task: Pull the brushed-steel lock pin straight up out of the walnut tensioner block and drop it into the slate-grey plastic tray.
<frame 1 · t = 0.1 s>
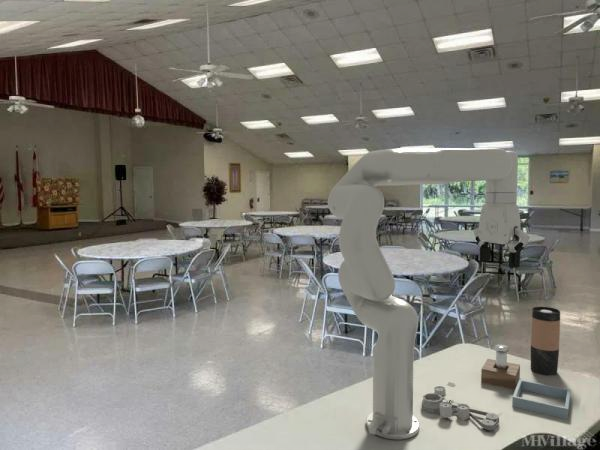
hand: (498, 264, 121), 37 cm above the table, tool pointing down, fingers open, 9 cm apart
pin tray: (541, 405, 121), on the table
pulley system: (449, 409, 122), on the table
tensioner block: (500, 383, 135), on the table
travel mug: (543, 374, 141), on the table
lock pin: (500, 379, 135), point 1 cm above the table, touching tensioner block
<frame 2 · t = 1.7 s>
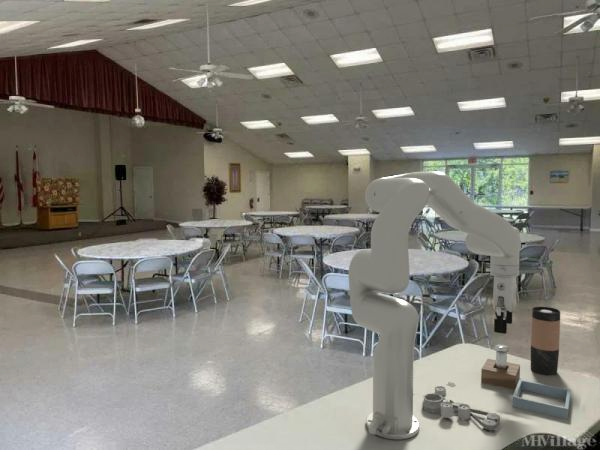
hand: (503, 327, 134), 17 cm above the table, tool pointing down, fingers open, 9 cm apart
nothing on the table moved.
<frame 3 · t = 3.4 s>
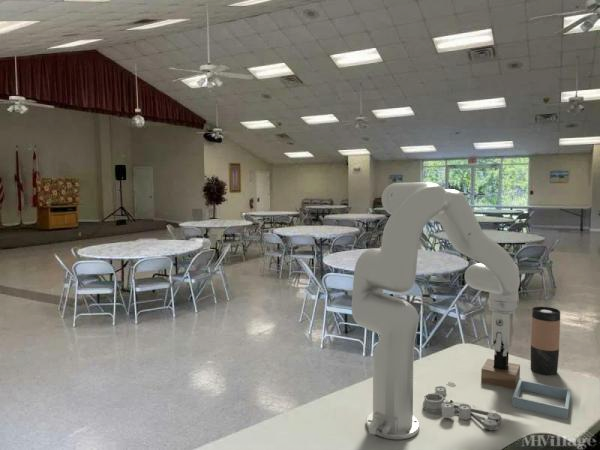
hand: (501, 366, 135), 5 cm above the table, tool pointing down, fingers closed on lock pin, 2 cm apart
lock pin: (500, 379, 135), point 1 cm above the table, touching gripper, tensioner block
everything else where it was.
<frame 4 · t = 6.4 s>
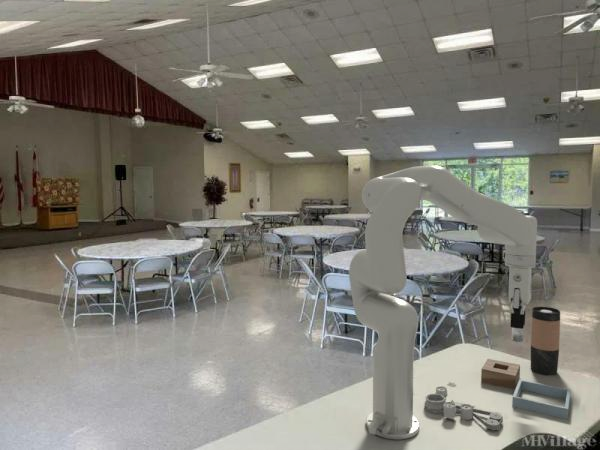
hand: (517, 325, 128), 19 cm above the table, tool pointing down, fingers closed on lock pin, 2 cm apart
lock pin: (517, 340, 128), point 15 cm above the table, touching gripper
everything else where it was.
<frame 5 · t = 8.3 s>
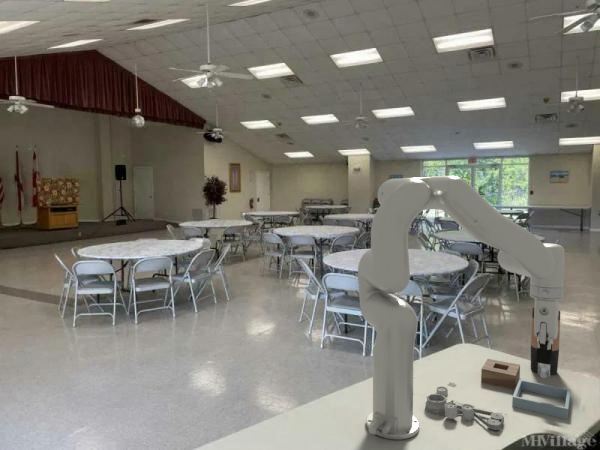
hand: (544, 360, 120), 12 cm above the table, tool pointing down, fingers closed on lock pin, 2 cm apart
lock pin: (543, 375, 121), point 8 cm above the table, touching gripper
everything else where it was.
when the fingers open (7 cm above the table, at t = 9.5 s): lock pin drops 2 cm, resting on pin tray.
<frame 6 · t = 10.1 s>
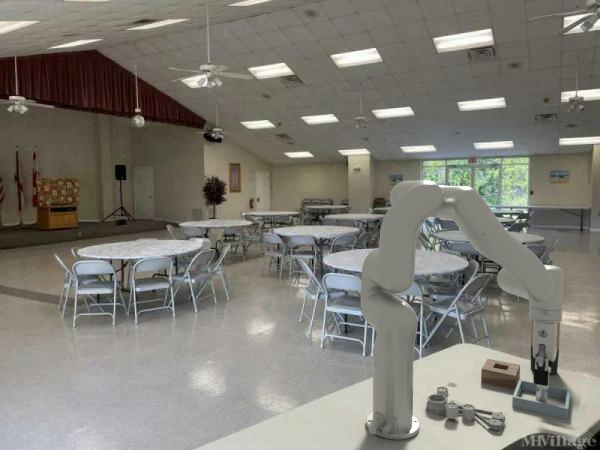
hand: (542, 377, 121), 8 cm above the table, tool pointing down, fingers open, 9 cm apart
lock pin: (541, 403, 121), point 1 cm above the table, touching pin tray
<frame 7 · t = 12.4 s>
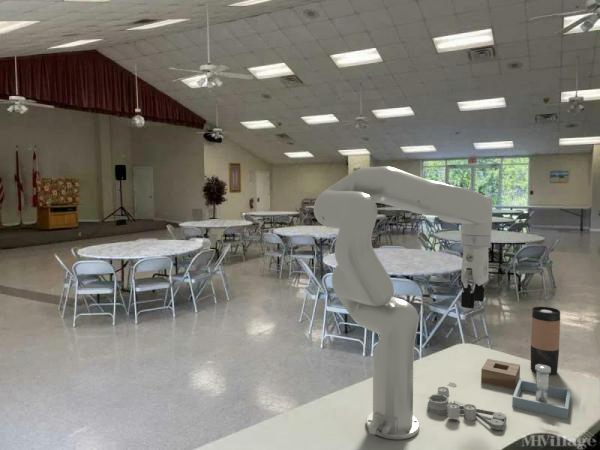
hand: (472, 304, 125), 26 cm above the table, tool pointing down, fingers open, 9 cm apart
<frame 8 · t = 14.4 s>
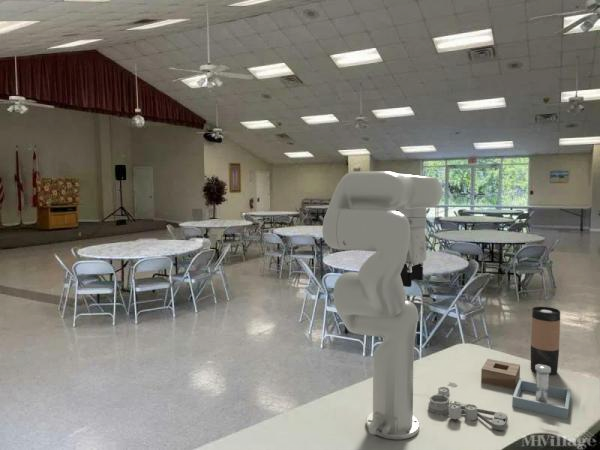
hand: (411, 282, 131), 30 cm above the table, tool pointing down, fingers open, 9 cm apart
at the end: lock pin inside the target area on the pin tray (0.0 cm from its centre), point 0.6 cm above the pin tray's base; the gripper is holding nothing; lock pin moved 14.6 cm from its start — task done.
